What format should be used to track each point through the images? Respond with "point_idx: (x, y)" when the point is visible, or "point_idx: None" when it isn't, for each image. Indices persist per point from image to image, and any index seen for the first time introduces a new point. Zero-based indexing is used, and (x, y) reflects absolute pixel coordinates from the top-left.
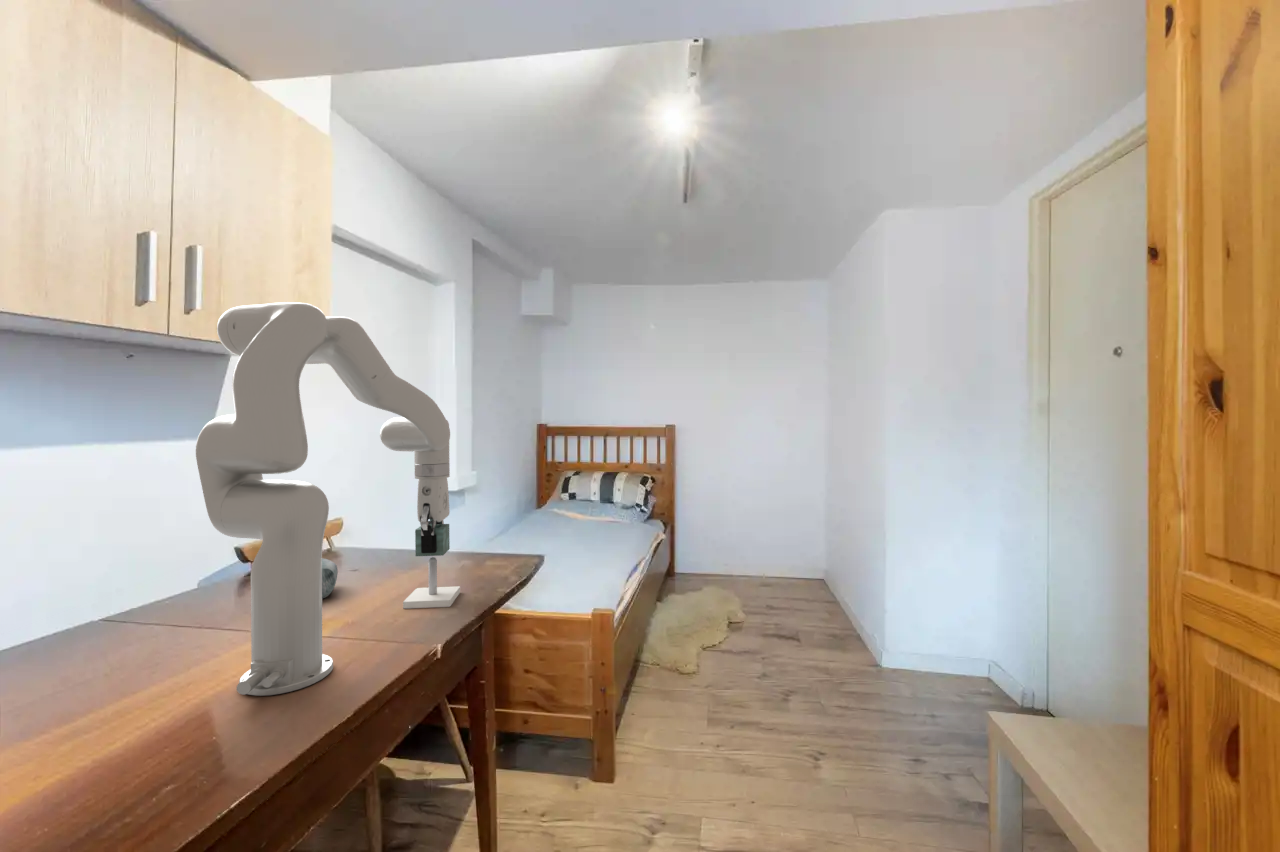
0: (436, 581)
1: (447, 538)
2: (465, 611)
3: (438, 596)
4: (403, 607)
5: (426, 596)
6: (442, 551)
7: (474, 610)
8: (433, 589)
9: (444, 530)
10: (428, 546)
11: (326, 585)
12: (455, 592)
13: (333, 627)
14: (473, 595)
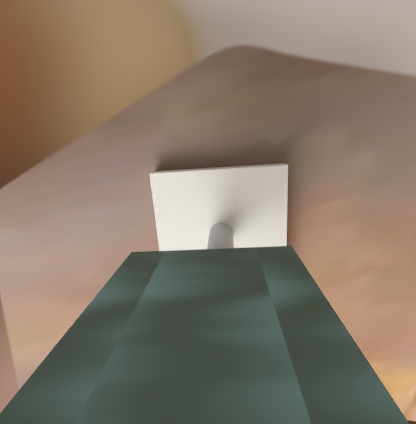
0: (223, 237)
1: (164, 297)
2: (332, 102)
3: (249, 210)
4: None
5: (245, 244)
6: (297, 260)
7: (328, 74)
8: (232, 235)
9: (294, 384)
10: None
11: None
12: (213, 169)
13: (381, 373)
14: (182, 120)
